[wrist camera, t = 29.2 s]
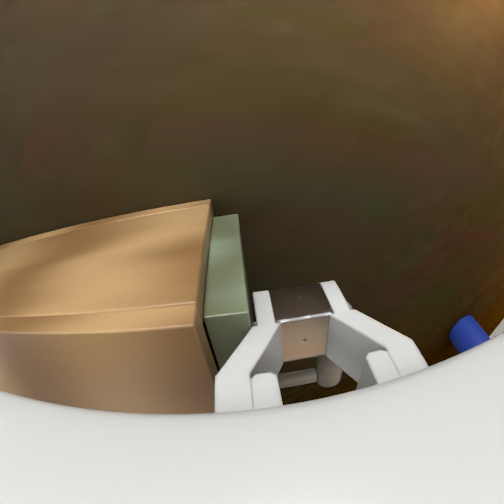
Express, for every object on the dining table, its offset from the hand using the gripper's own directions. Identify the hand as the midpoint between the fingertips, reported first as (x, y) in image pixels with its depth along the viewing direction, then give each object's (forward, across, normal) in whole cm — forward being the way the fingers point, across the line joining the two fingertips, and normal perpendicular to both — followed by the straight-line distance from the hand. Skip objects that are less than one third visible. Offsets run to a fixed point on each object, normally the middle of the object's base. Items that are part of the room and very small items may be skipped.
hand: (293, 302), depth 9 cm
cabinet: (+6, -10, -4) cm, 13 cm away
